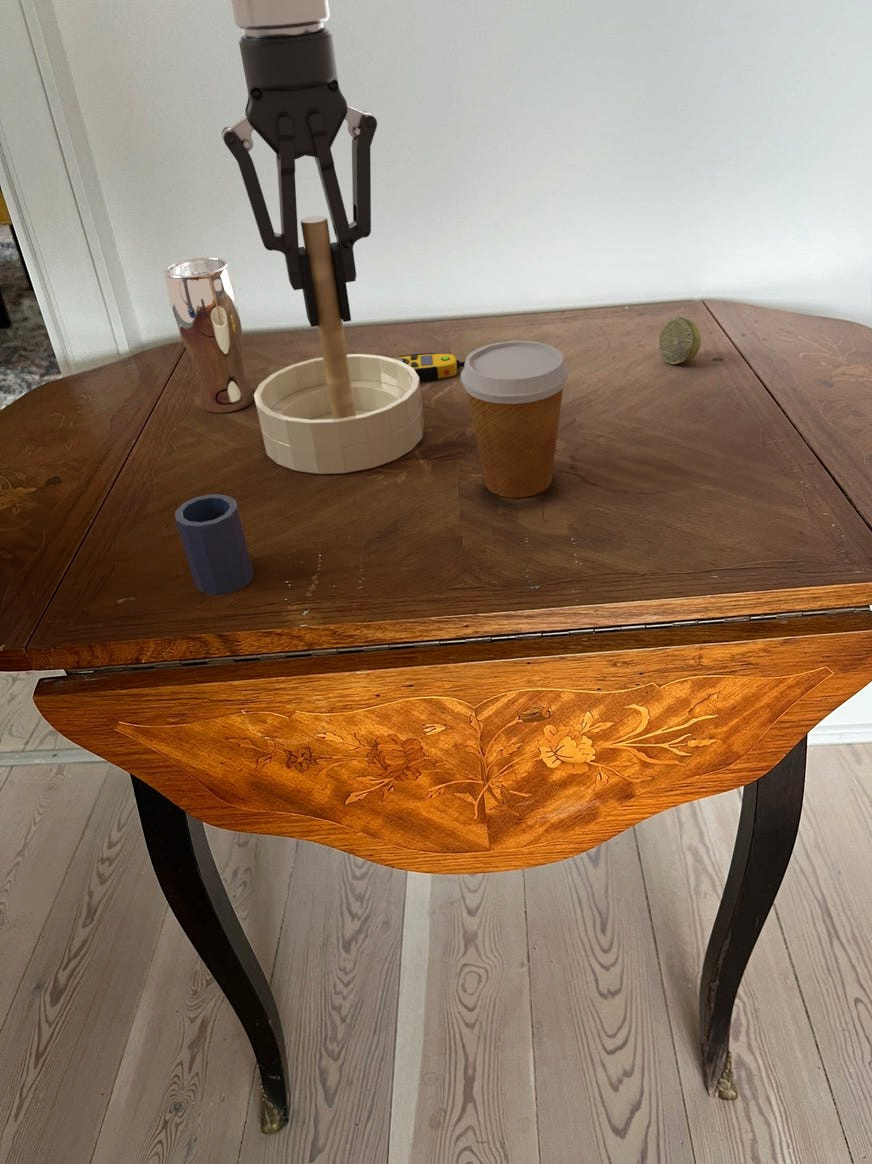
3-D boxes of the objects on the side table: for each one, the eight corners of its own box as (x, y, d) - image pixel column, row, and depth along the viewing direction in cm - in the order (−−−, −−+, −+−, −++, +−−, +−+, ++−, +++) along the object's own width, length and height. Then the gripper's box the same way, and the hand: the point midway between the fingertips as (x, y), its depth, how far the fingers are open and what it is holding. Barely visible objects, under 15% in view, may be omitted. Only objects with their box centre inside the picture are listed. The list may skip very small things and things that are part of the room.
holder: (198, 603, 77) (176, 530, 73) (195, 572, 81) (174, 500, 76) (257, 591, 78) (239, 518, 74) (251, 561, 82) (234, 489, 77)
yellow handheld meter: (378, 353, 112) (505, 342, 112) (380, 369, 113) (506, 358, 113) (378, 370, 108) (509, 359, 108) (380, 386, 109) (509, 375, 110)
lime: (696, 370, 108) (700, 326, 105) (654, 367, 109) (656, 324, 106) (702, 355, 111) (705, 312, 108) (660, 352, 112) (663, 310, 109)
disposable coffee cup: (543, 449, 95) (541, 331, 87) (585, 492, 88) (587, 368, 80) (453, 470, 92) (444, 351, 85) (490, 516, 85) (482, 390, 78)
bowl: (275, 492, 91) (263, 434, 87) (258, 422, 104) (247, 369, 100) (441, 461, 94) (436, 404, 90) (405, 396, 107) (399, 344, 103)
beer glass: (240, 383, 112) (210, 252, 103) (269, 401, 108) (241, 265, 98) (186, 402, 109) (150, 268, 99) (214, 420, 104) (179, 282, 95)
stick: (335, 431, 97) (302, 224, 84) (332, 421, 98) (298, 217, 86) (359, 427, 97) (329, 220, 85) (355, 418, 99) (324, 214, 86)
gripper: (369, 16, 81) (399, 295, 95) (184, 33, 78) (244, 318, 92) (387, 24, 75) (416, 319, 90) (188, 43, 72) (252, 345, 87)
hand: (329, 318), depth 91 cm, fingers closed on stick, 2 cm apart
